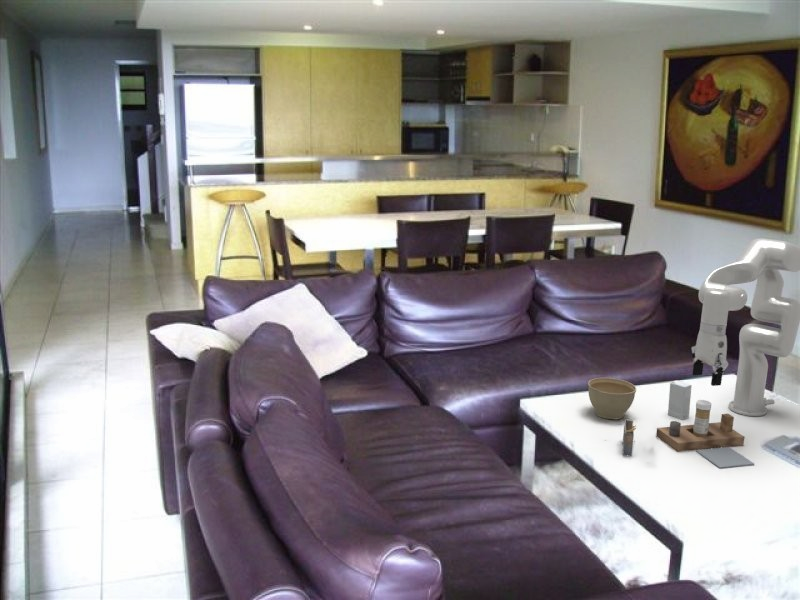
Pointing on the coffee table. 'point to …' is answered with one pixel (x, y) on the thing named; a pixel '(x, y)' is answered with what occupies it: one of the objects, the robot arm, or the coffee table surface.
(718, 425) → the wooden peg board
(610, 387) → the planter bowl
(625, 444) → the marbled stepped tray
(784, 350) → the robot arm
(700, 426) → the sprinkles bottle
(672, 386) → the skincare box
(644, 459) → the coffee table surface
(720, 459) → the pad
